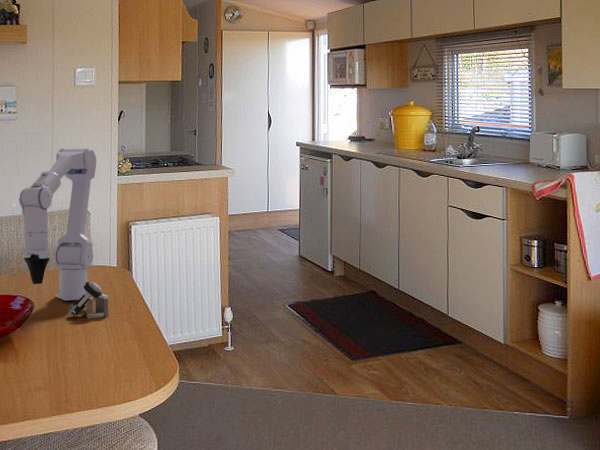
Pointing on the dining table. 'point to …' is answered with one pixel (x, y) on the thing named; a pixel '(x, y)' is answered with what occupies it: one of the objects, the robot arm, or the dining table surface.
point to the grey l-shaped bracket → (99, 307)
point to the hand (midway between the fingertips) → (37, 283)
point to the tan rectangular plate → (91, 306)
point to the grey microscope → (86, 297)
